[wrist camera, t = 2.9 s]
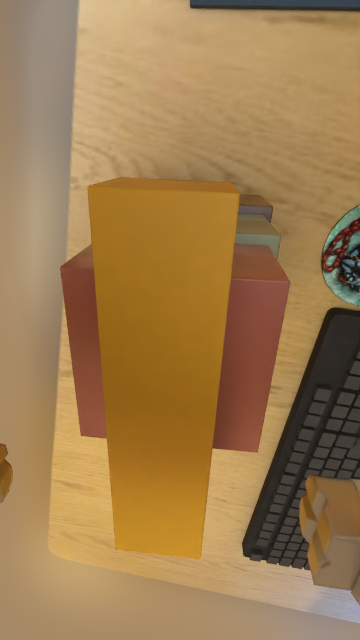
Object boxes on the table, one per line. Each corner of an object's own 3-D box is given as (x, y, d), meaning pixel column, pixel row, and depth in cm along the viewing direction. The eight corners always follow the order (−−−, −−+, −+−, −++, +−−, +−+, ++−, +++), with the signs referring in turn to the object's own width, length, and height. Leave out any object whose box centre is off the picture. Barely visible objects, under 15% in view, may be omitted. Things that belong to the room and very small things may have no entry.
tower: (135, 305, 31) (61, 450, 16) (132, 189, 27) (27, 236, 12) (245, 313, 31) (277, 471, 15) (260, 195, 26) (327, 253, 11)
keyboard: (329, 306, 30) (336, 316, 28) (459, 327, 29) (475, 338, 28) (241, 545, 45) (242, 561, 44) (325, 560, 45) (330, 577, 43)
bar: (131, 486, 17) (115, 550, 14) (118, 177, 10) (86, 185, 8) (202, 493, 16) (200, 559, 14) (233, 182, 10) (240, 192, 8)
